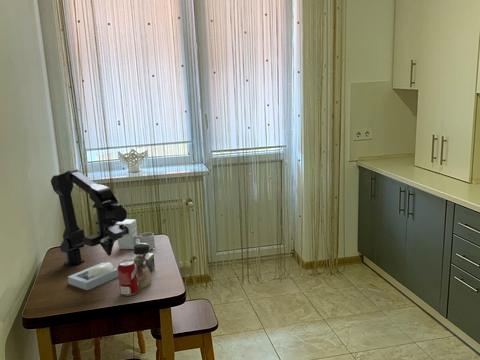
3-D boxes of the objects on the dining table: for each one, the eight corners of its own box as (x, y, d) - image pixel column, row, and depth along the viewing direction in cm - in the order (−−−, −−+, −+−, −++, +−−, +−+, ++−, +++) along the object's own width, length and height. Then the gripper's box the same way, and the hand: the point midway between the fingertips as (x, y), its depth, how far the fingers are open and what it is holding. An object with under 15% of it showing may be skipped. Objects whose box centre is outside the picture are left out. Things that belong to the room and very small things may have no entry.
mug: (157, 246, 227) (155, 232, 226) (152, 251, 221) (150, 237, 219) (137, 245, 229) (135, 232, 228) (131, 250, 223) (130, 237, 221)
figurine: (131, 282, 187) (128, 253, 185) (149, 278, 190) (146, 249, 188) (135, 289, 181) (131, 259, 178) (153, 285, 184) (150, 255, 181)
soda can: (129, 298, 174) (126, 267, 171) (116, 294, 177) (112, 264, 175) (142, 290, 179) (139, 260, 177) (129, 287, 183) (126, 257, 180)
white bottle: (106, 272, 199) (82, 282, 190) (105, 261, 198) (80, 271, 189) (114, 274, 197) (90, 285, 187) (112, 263, 196) (88, 273, 186)
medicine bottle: (148, 276, 192) (145, 247, 190) (132, 275, 194) (129, 247, 191) (155, 269, 199) (152, 241, 197) (139, 268, 201) (136, 241, 198)
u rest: (68, 283, 189) (67, 276, 189) (104, 268, 203) (103, 262, 202) (87, 290, 182) (86, 283, 182) (122, 274, 195) (121, 267, 195)
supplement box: (118, 249, 226) (115, 223, 223) (124, 243, 233) (121, 218, 230) (132, 249, 224) (130, 223, 222) (138, 244, 231) (136, 218, 229)
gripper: (98, 228, 181) (102, 266, 185) (136, 215, 196) (139, 251, 199) (80, 224, 188) (85, 261, 191) (118, 211, 202) (122, 247, 206)
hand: (109, 255), depth 197 cm, fingers closed
